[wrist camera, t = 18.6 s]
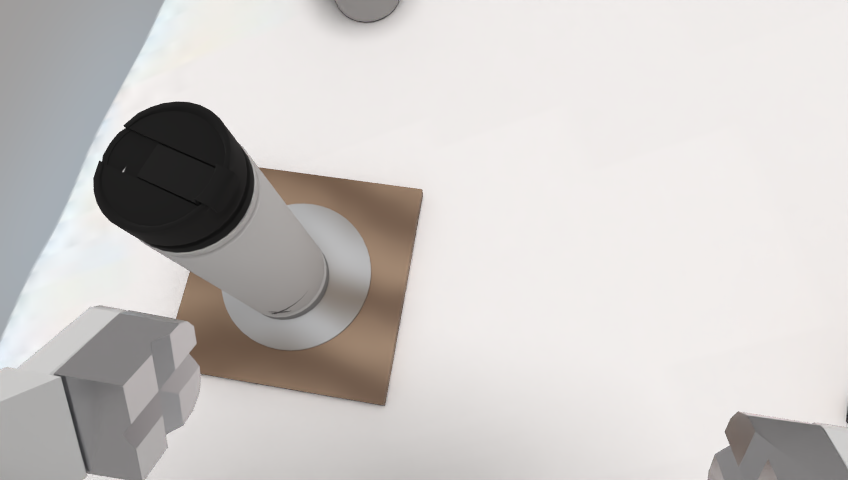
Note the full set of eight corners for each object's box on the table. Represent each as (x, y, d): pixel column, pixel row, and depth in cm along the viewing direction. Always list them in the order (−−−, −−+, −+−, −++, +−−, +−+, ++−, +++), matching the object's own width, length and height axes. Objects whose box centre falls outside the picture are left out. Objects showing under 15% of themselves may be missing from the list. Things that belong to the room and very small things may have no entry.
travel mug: (307, 337, 42) (183, 259, 23) (229, 298, 43) (48, 192, 24) (349, 259, 43) (264, 126, 24) (272, 224, 45) (134, 70, 26)
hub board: (384, 405, 41) (382, 404, 40) (168, 368, 43) (160, 366, 42) (422, 194, 46) (421, 187, 45) (226, 167, 48) (220, 160, 46)
